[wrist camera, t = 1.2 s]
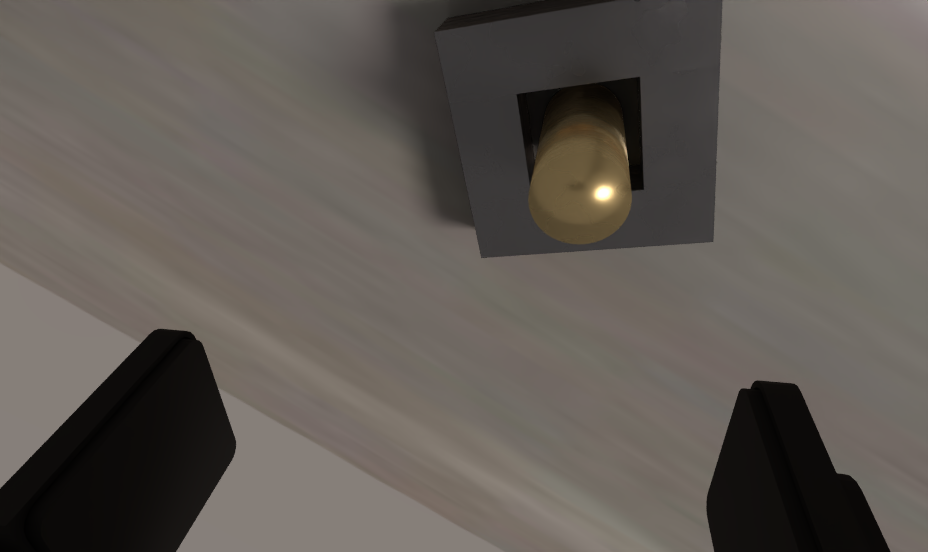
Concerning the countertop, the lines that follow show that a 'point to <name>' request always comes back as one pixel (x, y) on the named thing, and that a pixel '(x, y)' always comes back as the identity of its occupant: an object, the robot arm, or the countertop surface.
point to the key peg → (581, 167)
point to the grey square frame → (577, 63)
